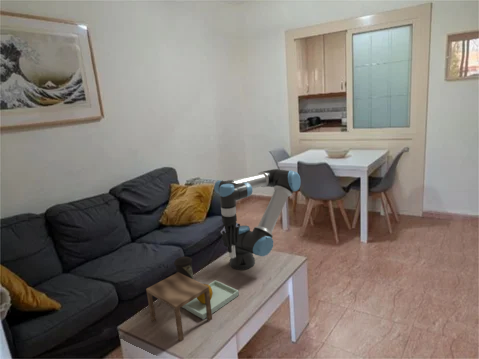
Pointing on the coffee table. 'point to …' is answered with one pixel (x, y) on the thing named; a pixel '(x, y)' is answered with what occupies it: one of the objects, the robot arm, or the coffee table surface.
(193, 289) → the riser
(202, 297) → the apple
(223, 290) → the tray
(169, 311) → the coffee table surface
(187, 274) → the container
